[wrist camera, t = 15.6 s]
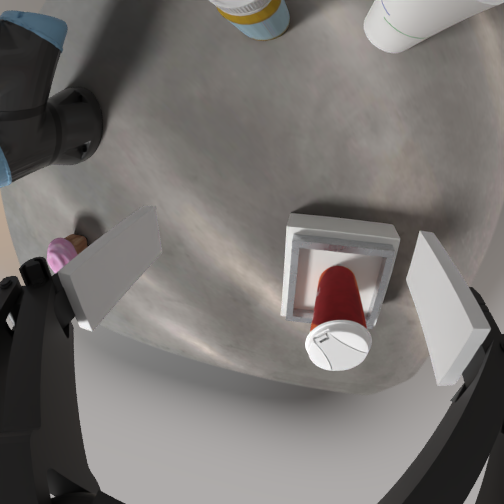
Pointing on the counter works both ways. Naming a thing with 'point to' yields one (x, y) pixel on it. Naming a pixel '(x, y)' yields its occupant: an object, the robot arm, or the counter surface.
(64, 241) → the cupcake
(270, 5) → the bottle
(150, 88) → the counter surface
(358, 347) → the paper cup
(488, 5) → the cylindrical container
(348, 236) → the square tray
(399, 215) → the counter surface
